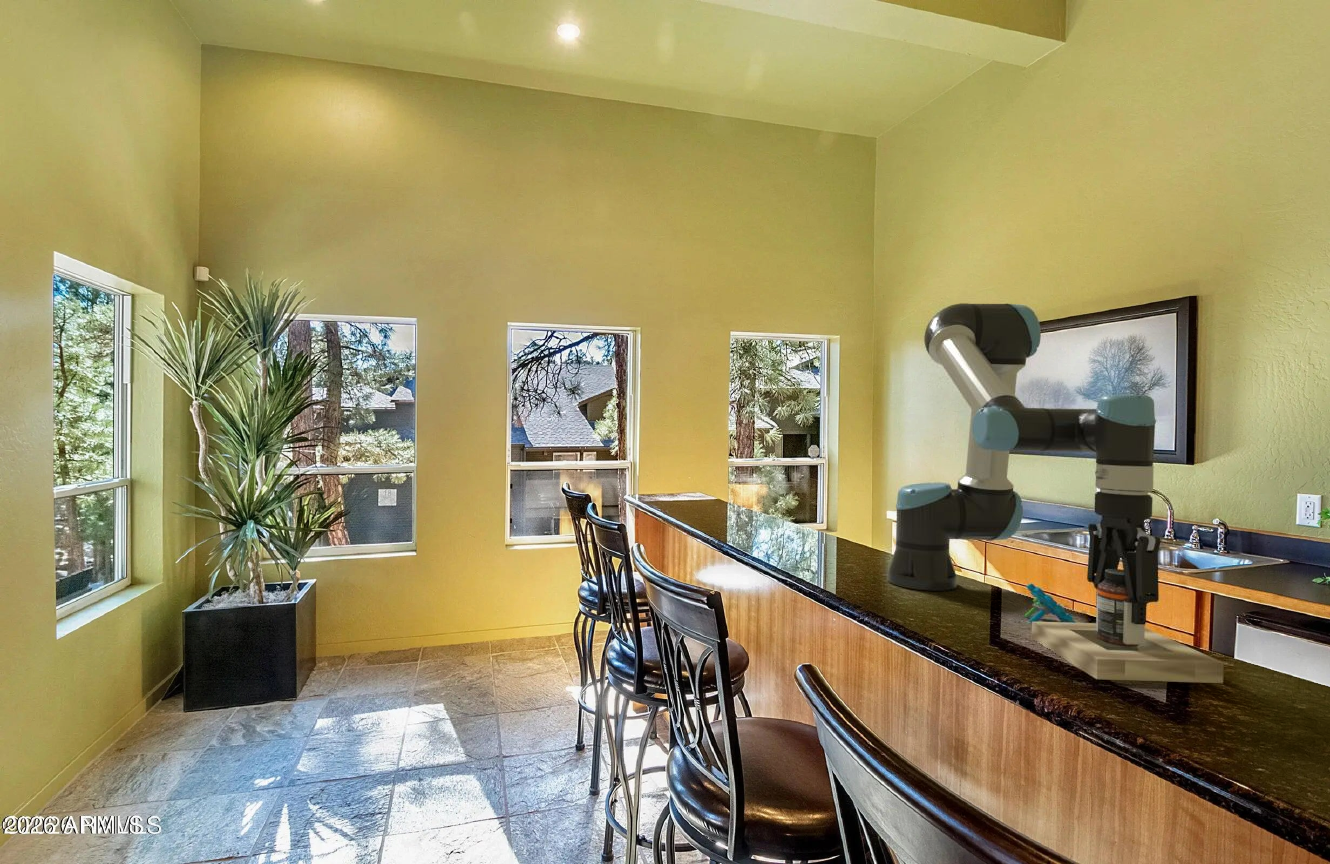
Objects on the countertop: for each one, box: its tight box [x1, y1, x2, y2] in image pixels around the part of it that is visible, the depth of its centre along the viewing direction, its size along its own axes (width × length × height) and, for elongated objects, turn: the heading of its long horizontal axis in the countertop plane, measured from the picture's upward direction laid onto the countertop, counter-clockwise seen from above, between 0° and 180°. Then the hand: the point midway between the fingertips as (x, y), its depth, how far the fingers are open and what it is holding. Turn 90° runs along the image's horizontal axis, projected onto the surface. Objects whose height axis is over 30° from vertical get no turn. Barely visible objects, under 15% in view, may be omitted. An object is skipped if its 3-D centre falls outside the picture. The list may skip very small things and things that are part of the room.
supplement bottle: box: [1096, 568, 1139, 647], centre depth 104 cm, size 6×6×11 cm
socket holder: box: [1031, 621, 1225, 684], centre depth 104 cm, size 18×18×3 cm
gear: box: [1024, 582, 1077, 624], centre depth 122 cm, size 11×6×10 cm
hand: (1119, 636), depth 104 cm, fingers closed on supplement bottle, 6 cm apart
